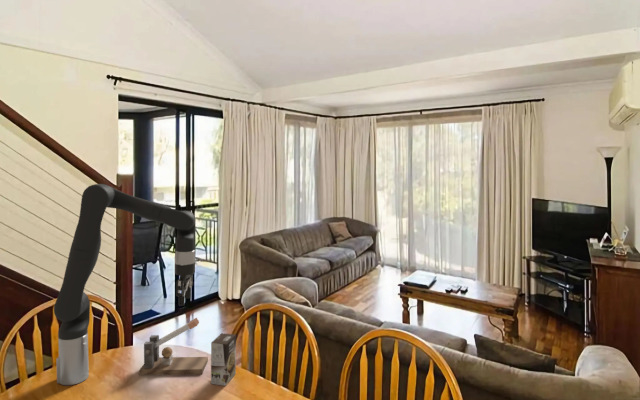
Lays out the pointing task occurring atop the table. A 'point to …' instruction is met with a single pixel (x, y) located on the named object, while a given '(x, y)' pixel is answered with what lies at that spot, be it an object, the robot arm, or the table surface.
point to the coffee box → (223, 359)
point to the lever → (176, 332)
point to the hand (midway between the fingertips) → (184, 301)
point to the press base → (177, 366)
